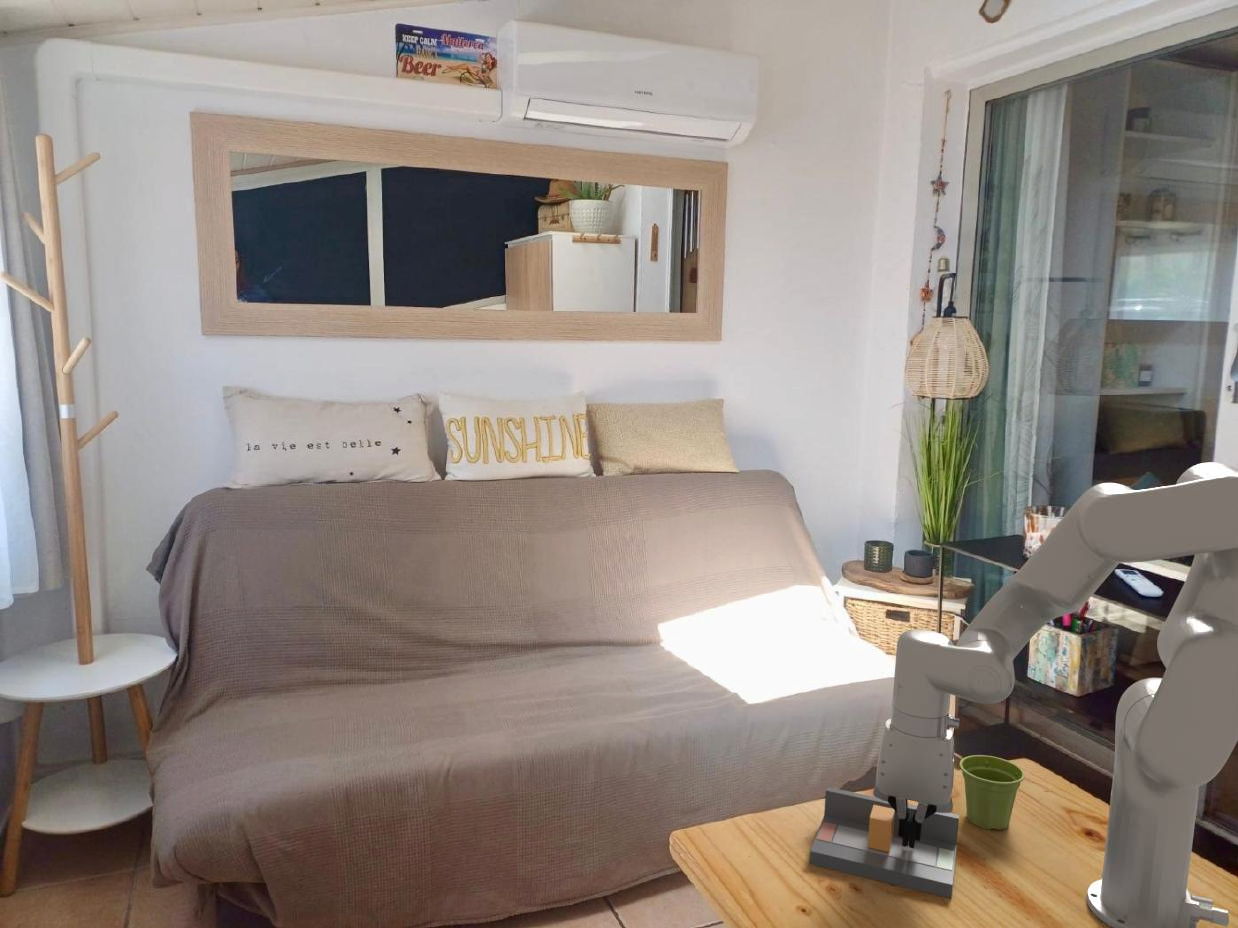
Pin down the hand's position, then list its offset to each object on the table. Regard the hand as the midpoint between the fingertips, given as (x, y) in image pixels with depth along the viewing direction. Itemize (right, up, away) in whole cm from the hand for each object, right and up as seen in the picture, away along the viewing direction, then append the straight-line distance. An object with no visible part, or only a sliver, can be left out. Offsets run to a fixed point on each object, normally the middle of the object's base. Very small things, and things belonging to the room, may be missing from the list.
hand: (908, 842), depth 130 cm
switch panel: (-3, -3, +2) cm, 5 cm away
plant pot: (+16, -2, +13) cm, 21 cm away
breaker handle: (-4, -1, +2) cm, 4 cm away
